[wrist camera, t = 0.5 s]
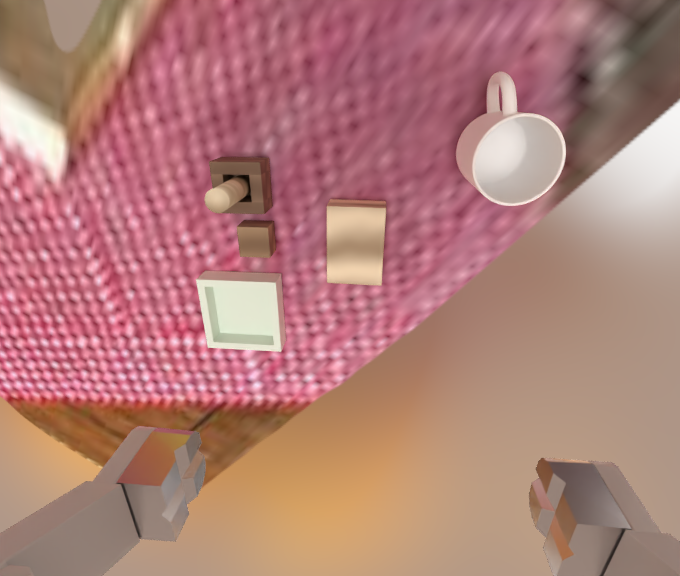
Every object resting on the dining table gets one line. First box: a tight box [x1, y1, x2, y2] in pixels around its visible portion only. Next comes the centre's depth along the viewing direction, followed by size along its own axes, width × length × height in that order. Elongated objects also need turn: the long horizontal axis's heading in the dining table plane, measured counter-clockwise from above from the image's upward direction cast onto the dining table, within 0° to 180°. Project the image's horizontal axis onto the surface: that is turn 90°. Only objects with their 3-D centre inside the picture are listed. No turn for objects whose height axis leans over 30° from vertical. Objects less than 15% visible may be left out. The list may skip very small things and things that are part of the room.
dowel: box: [205, 175, 251, 213], centre depth 45 cm, size 2×2×10 cm
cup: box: [456, 72, 566, 206], centre depth 40 cm, size 8×12×10 cm
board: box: [327, 199, 386, 285], centre depth 50 cm, size 10×7×4 cm
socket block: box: [209, 157, 273, 214], centre depth 48 cm, size 6×6×4 cm
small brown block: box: [237, 220, 276, 258], centre depth 52 cm, size 4×4×3 cm
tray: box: [196, 271, 286, 352], centre depth 57 cm, size 11×11×3 cm
